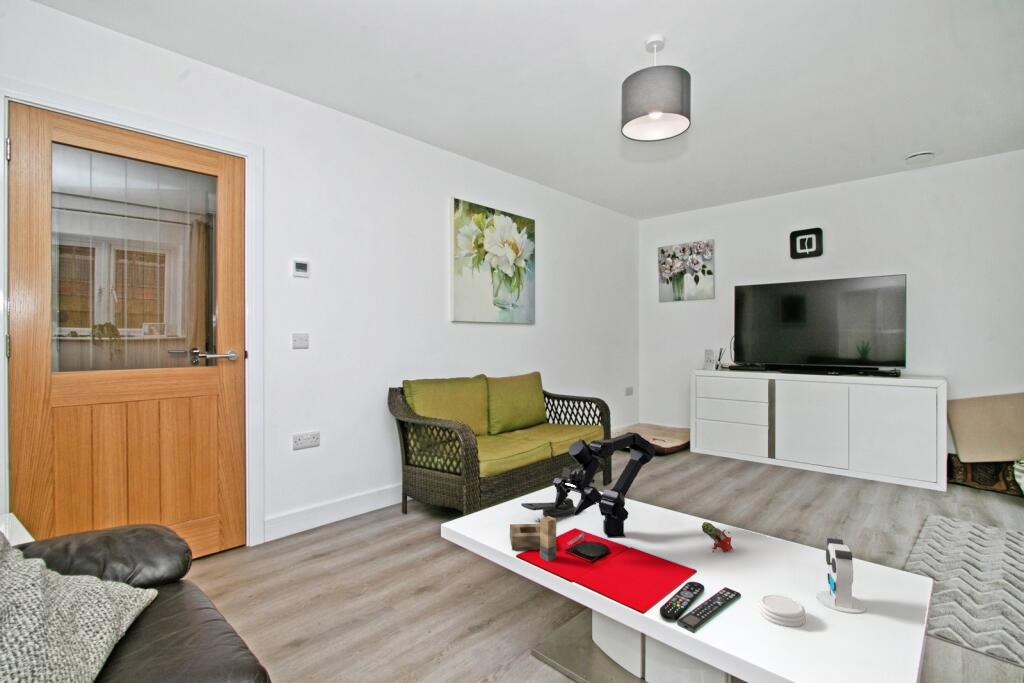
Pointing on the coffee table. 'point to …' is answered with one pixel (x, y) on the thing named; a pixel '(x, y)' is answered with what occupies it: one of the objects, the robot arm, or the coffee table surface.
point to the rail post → (548, 538)
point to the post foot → (525, 536)
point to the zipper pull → (553, 508)
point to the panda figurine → (840, 580)
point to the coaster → (782, 611)
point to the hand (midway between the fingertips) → (564, 511)
